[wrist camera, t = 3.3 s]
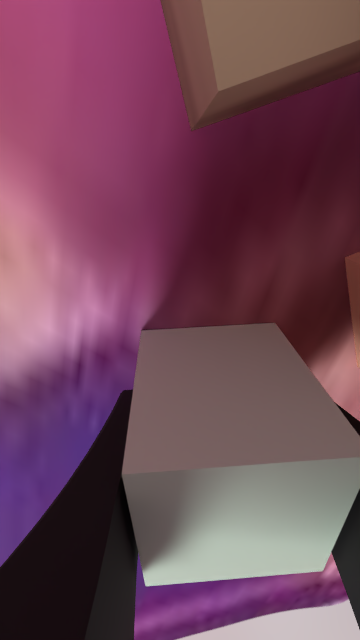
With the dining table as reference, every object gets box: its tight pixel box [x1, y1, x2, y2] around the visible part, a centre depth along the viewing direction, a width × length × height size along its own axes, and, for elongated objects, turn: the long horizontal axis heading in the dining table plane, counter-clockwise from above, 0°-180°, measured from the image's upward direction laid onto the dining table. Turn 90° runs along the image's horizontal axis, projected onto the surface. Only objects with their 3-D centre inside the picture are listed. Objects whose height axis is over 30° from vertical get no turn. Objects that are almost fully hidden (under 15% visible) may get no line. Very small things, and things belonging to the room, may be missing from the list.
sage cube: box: [122, 323, 360, 586], centre depth 8 cm, size 4×4×5 cm
